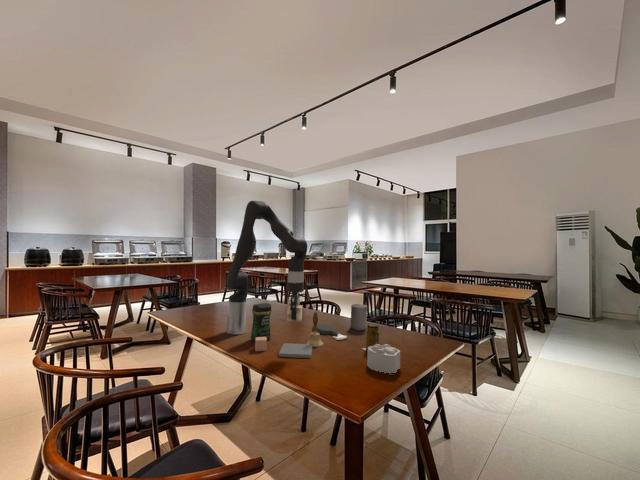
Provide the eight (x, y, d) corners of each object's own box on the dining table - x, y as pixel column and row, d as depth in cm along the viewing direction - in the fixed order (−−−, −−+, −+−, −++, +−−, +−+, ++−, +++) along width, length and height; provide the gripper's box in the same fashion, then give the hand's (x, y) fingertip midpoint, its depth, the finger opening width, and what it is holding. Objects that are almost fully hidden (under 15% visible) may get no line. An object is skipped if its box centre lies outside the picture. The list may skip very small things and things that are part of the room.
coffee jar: (257, 343, 152) (258, 305, 153) (248, 339, 158) (249, 303, 158) (273, 339, 159) (274, 303, 159) (264, 336, 165) (265, 301, 165)
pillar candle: (348, 326, 190) (348, 302, 190) (362, 325, 193) (363, 301, 193) (354, 330, 181) (355, 305, 181) (369, 329, 184) (370, 304, 184)
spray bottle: (326, 328, 186) (351, 339, 166) (310, 330, 180) (334, 342, 160) (326, 323, 186) (351, 334, 166) (310, 325, 180) (334, 337, 160)
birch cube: (287, 321, 138) (287, 307, 138) (289, 317, 144) (289, 305, 144) (300, 321, 138) (300, 308, 138) (301, 318, 144) (302, 305, 144)
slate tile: (278, 356, 135) (278, 353, 135) (283, 346, 149) (283, 343, 149) (310, 358, 135) (310, 354, 135) (312, 347, 149) (312, 344, 149)
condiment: (374, 347, 152) (374, 322, 153) (384, 352, 145) (385, 327, 145) (361, 348, 149) (362, 324, 149) (371, 354, 142) (372, 328, 142)
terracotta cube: (255, 351, 142) (255, 340, 142) (255, 347, 146) (255, 337, 146) (266, 350, 143) (266, 340, 143) (265, 347, 148) (266, 336, 148)
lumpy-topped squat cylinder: (393, 375, 119) (394, 353, 119) (362, 367, 126) (363, 346, 126) (401, 367, 128) (402, 346, 128) (372, 360, 135) (373, 340, 135)
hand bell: (303, 344, 154) (304, 312, 154) (314, 340, 160) (315, 309, 160) (315, 348, 148) (316, 315, 148) (326, 344, 154) (327, 312, 154)
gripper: (289, 279, 149) (289, 314, 148) (284, 282, 135) (283, 321, 134) (305, 279, 148) (304, 314, 148) (302, 283, 134) (301, 321, 134)
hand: (294, 317), depth 141 cm, fingers closed on birch cube, 6 cm apart
